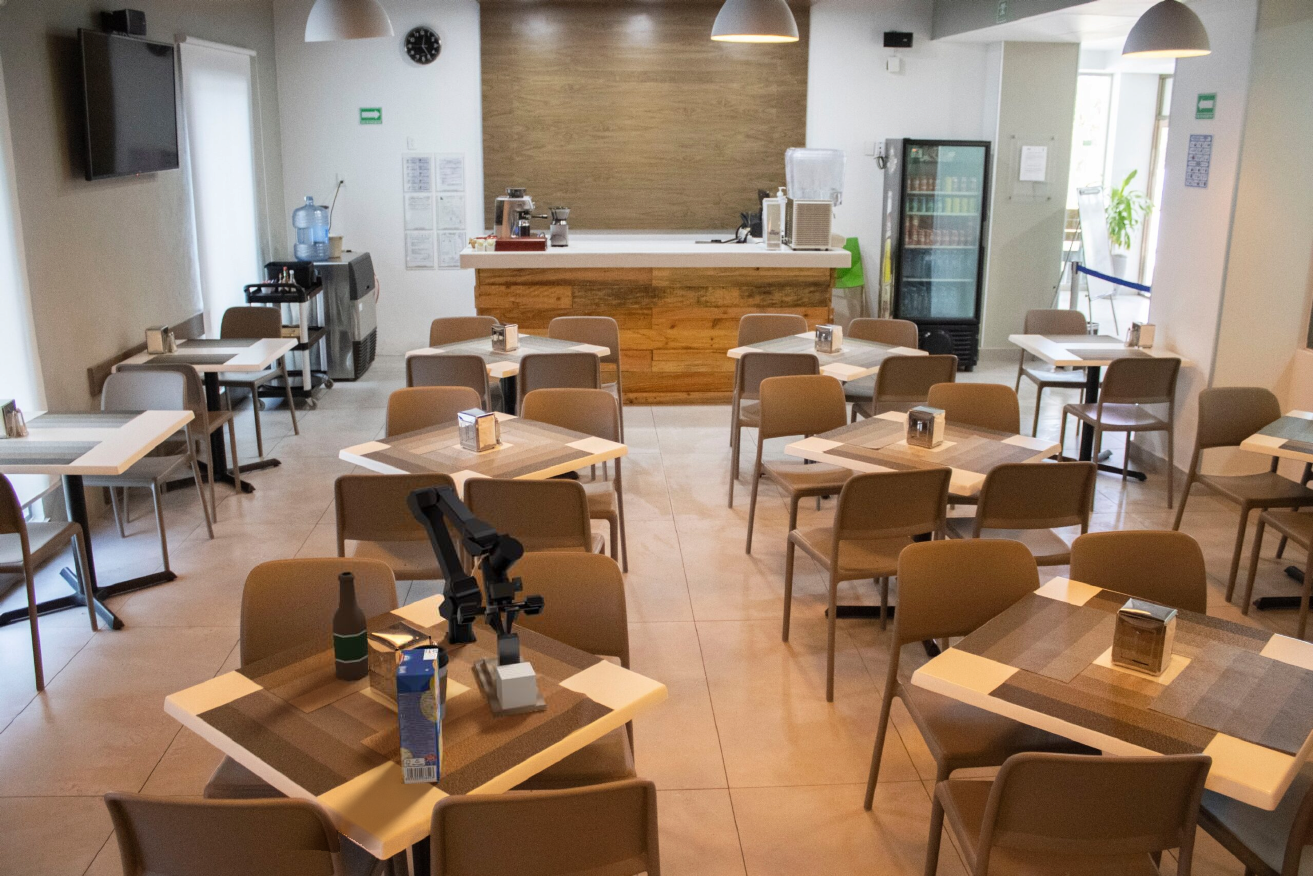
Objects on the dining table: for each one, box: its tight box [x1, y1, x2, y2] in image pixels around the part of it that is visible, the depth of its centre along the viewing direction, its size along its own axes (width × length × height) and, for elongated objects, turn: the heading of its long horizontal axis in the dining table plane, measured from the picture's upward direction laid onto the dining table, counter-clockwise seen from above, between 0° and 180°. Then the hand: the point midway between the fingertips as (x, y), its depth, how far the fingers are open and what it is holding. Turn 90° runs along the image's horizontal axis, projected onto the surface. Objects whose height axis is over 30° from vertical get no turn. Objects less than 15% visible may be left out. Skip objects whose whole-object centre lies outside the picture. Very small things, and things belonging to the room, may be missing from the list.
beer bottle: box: [332, 571, 370, 682], centre depth 246 cm, size 8×8×24 cm
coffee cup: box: [411, 644, 450, 721], centre depth 229 cm, size 8×8×15 cm
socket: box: [496, 661, 537, 709], centre depth 235 cm, size 6×7×7 cm
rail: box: [473, 653, 547, 718], centre depth 243 cm, size 25×11×3 cm, turn 19°
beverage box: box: [395, 648, 444, 785], centre depth 209 cm, size 7×11×22 cm, turn 7°
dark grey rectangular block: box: [496, 632, 521, 666], centre depth 238 cm, size 10×4×11 cm, turn 19°
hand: (507, 645), depth 242 cm, fingers closed
